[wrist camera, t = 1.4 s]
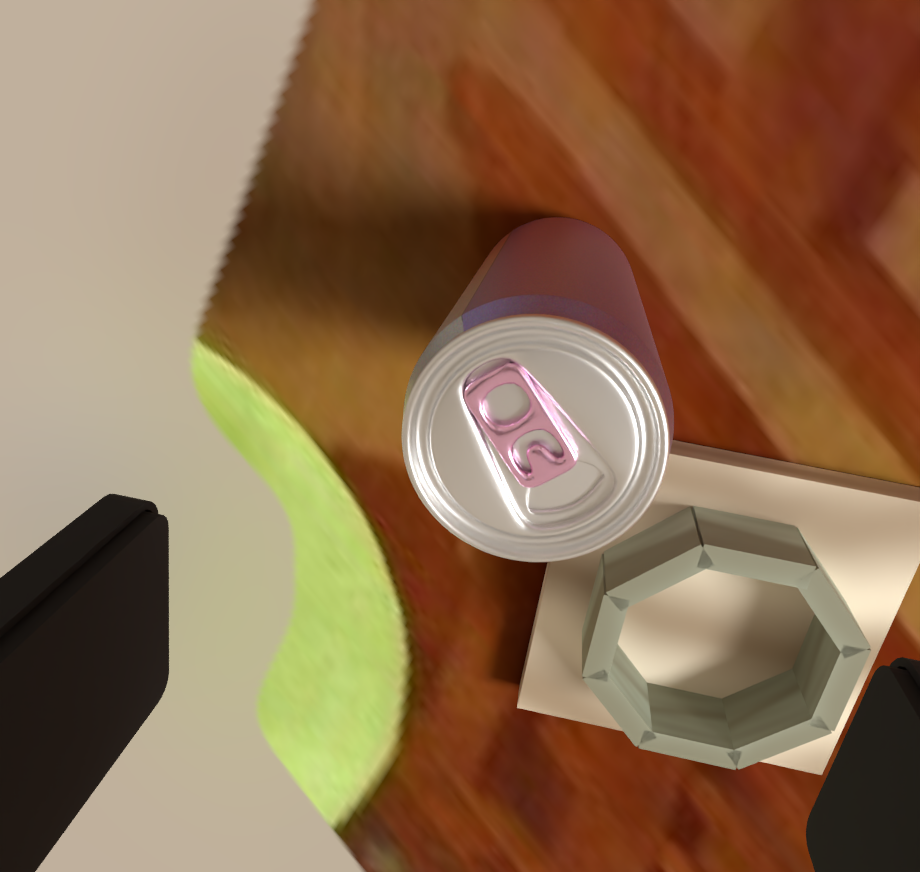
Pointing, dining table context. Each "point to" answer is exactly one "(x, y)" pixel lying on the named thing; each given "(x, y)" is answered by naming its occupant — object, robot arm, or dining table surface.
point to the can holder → (729, 611)
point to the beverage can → (541, 400)
